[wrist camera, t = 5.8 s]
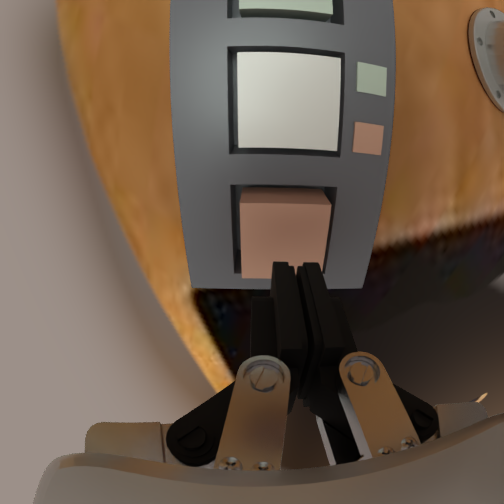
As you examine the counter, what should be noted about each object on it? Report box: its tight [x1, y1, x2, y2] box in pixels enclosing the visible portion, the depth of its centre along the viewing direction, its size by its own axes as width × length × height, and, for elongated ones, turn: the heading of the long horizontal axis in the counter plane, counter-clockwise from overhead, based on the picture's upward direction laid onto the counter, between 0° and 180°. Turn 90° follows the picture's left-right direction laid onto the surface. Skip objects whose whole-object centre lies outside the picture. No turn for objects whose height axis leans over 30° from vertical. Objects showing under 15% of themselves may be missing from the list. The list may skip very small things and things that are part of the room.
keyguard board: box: [170, 0, 396, 289], centre depth 16 cm, size 14×28×5 cm, turn 0°
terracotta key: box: [240, 187, 331, 279], centre depth 19 cm, size 6×6×3 cm
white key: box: [237, 52, 341, 151], centre depth 14 cm, size 6×6×3 cm
